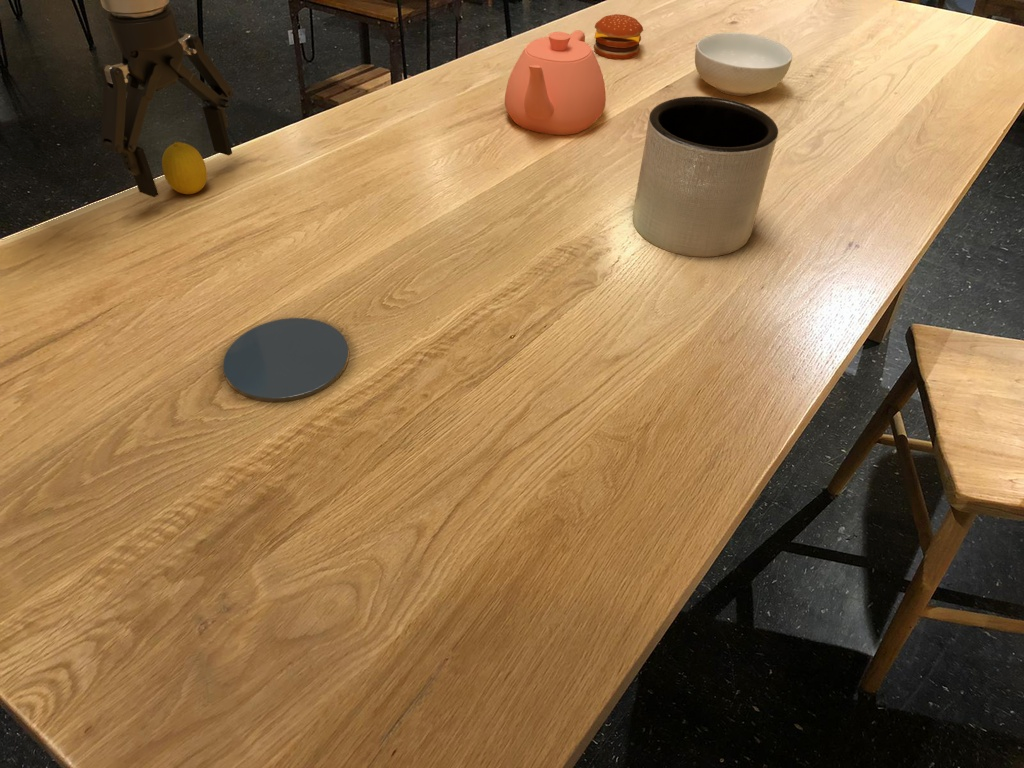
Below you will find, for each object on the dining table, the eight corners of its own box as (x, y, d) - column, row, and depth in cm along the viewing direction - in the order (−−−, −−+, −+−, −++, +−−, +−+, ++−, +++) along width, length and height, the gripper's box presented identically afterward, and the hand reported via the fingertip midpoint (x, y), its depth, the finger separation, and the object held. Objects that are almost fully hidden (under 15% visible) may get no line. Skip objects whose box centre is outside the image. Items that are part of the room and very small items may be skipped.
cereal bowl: (673, 89, 140) (680, 49, 135) (713, 63, 150) (721, 25, 145) (759, 115, 133) (770, 74, 128) (796, 86, 143) (807, 47, 138)
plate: (199, 380, 80) (195, 370, 79) (282, 315, 89) (280, 304, 88) (296, 425, 76) (293, 415, 75) (374, 352, 84) (372, 341, 83)
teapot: (576, 159, 119) (584, 72, 110) (477, 139, 123) (477, 54, 114) (619, 99, 136) (629, 20, 127) (531, 83, 140) (535, 5, 131)
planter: (769, 257, 100) (803, 146, 90) (653, 269, 98) (674, 155, 87) (721, 196, 112) (746, 91, 101) (616, 205, 109) (631, 98, 98)
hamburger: (594, 41, 157) (597, 7, 153) (640, 45, 156) (645, 11, 152) (590, 58, 150) (593, 22, 146) (639, 62, 149) (644, 26, 145)
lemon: (163, 201, 106) (146, 147, 101) (187, 183, 110) (171, 130, 105) (198, 208, 105) (182, 154, 100) (220, 189, 109) (206, 136, 104)
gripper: (70, 46, 81) (134, 220, 96) (236, -15, 98) (270, 142, 112) (24, 33, 84) (93, 205, 99) (193, -24, 100) (232, 131, 115)
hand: (187, 172), depth 105 cm, fingers open, 13 cm apart
